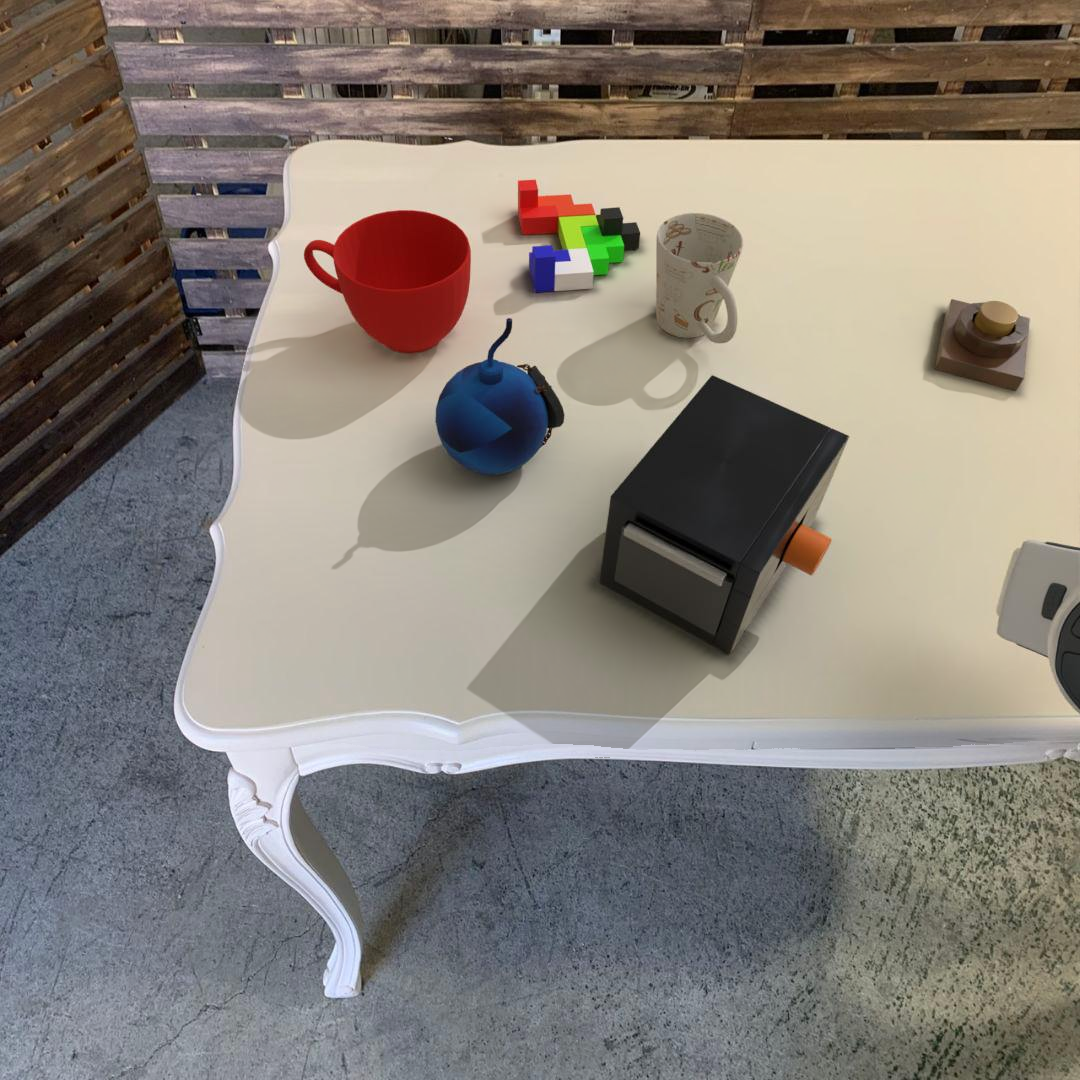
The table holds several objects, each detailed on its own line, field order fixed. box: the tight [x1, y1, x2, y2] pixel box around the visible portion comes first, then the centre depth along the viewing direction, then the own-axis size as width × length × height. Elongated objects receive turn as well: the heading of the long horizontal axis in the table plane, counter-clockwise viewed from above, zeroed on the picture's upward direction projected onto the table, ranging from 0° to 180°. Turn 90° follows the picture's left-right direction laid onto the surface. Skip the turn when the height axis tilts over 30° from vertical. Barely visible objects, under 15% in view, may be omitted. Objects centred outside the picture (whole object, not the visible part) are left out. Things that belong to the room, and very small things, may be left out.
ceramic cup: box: [303, 209, 472, 354], centre depth 89 cm, size 13×17×10 cm
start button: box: [974, 300, 1019, 337], centre depth 90 cm, size 4×4×2 cm
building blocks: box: [517, 179, 641, 293], centre depth 100 cm, size 15×13×4 cm
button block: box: [934, 298, 1031, 392], centre depth 92 cm, size 8×10×4 cm
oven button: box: [782, 525, 832, 576], centre depth 69 cm, size 2×3×3 cm
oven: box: [598, 374, 850, 655], centre depth 71 cm, size 12×17×11 cm
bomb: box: [434, 317, 565, 475], centre depth 76 cm, size 10×11×15 cm
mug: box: [655, 212, 744, 344], centre depth 90 cm, size 8×13×10 cm, turn 26°
